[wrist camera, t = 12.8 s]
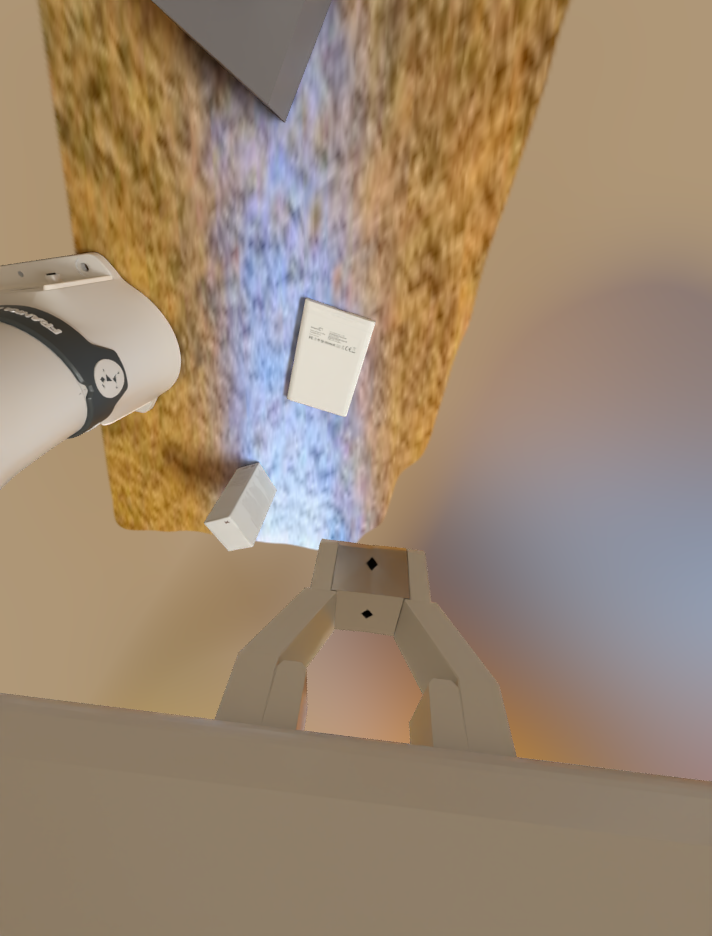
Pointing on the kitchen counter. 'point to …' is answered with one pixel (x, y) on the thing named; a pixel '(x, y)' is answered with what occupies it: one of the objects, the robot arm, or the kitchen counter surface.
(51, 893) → the robot arm
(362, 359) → the external hard drive
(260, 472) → the skincare box
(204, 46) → the switch box
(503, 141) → the kitchen counter surface
